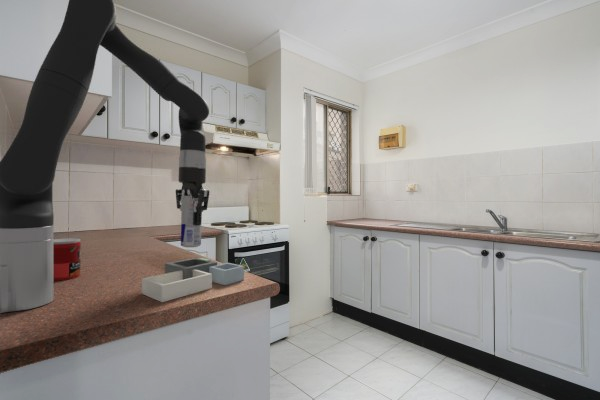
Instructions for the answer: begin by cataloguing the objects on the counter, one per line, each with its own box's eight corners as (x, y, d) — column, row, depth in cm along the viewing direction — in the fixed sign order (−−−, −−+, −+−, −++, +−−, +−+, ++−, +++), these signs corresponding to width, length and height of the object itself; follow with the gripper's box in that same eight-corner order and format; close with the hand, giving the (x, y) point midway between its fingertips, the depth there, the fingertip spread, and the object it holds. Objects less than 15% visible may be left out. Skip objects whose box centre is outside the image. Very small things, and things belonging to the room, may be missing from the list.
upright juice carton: (204, 245, 91) (205, 195, 91) (195, 248, 85) (197, 195, 85) (186, 244, 92) (187, 195, 92) (177, 247, 86) (178, 195, 86)
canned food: (76, 279, 86) (76, 241, 86) (41, 282, 83) (41, 242, 83) (84, 273, 93) (84, 237, 93) (52, 275, 90) (52, 238, 90)
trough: (162, 302, 68) (162, 285, 68) (141, 293, 74) (142, 278, 74) (211, 288, 79) (212, 273, 79) (190, 281, 85) (190, 268, 85)
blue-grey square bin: (224, 285, 82) (224, 270, 82) (209, 280, 86) (209, 266, 86) (244, 279, 87) (244, 266, 87) (228, 275, 92) (228, 262, 92)
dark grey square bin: (185, 285, 81) (185, 267, 81) (164, 278, 88) (164, 262, 88) (217, 277, 90) (217, 261, 90) (196, 271, 96) (196, 256, 96)
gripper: (167, 166, 90) (166, 223, 90) (195, 164, 81) (194, 227, 81) (189, 169, 96) (188, 222, 96) (218, 167, 87) (216, 225, 87)
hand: (191, 224), depth 88 cm, fingers closed on upright juice carton, 5 cm apart
